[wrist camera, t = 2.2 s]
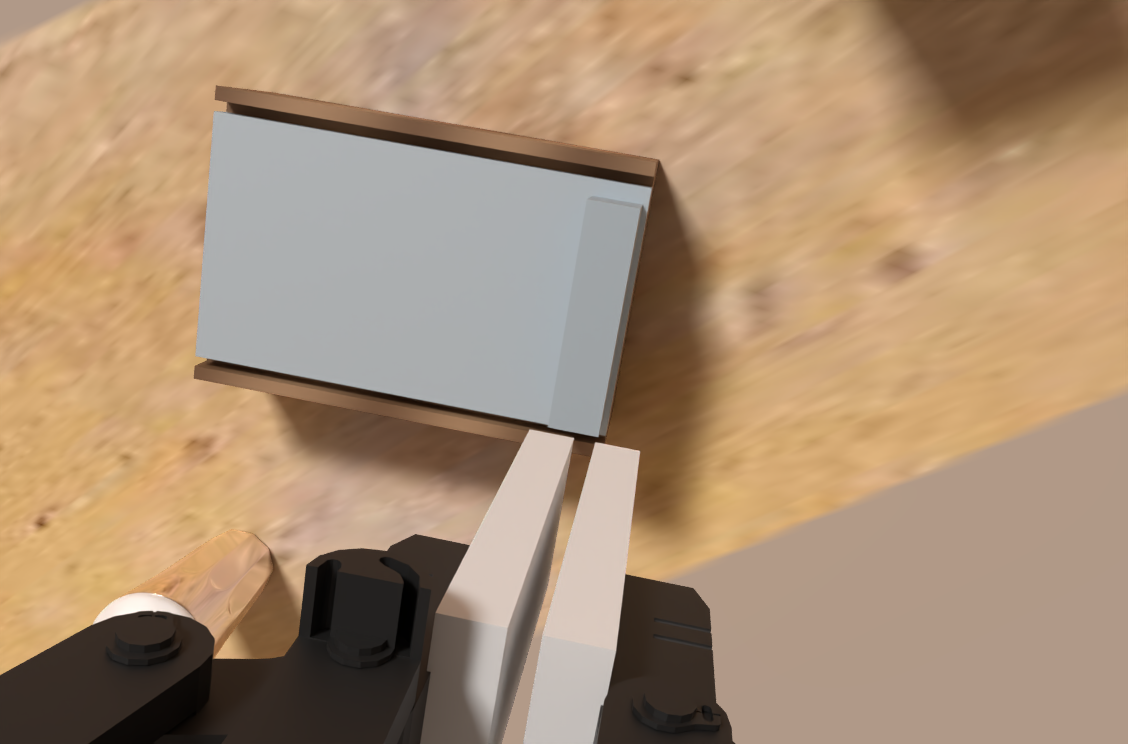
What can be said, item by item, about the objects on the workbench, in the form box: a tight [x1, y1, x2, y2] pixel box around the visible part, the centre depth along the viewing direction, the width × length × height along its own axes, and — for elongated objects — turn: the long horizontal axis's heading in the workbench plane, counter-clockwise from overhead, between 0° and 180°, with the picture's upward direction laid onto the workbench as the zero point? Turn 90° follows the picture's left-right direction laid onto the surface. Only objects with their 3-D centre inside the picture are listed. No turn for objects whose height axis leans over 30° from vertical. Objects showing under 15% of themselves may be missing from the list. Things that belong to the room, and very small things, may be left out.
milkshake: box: [93, 529, 273, 659], centre depth 40 cm, size 4×5×10 cm
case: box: [194, 86, 659, 456], centre depth 38 cm, size 16×11×5 cm
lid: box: [196, 111, 652, 437], centre depth 35 cm, size 16×9×3 cm, turn 81°
